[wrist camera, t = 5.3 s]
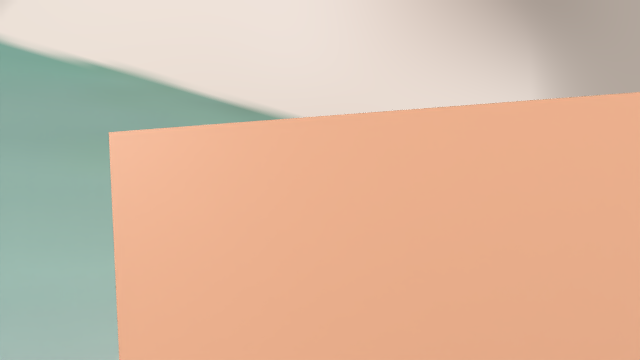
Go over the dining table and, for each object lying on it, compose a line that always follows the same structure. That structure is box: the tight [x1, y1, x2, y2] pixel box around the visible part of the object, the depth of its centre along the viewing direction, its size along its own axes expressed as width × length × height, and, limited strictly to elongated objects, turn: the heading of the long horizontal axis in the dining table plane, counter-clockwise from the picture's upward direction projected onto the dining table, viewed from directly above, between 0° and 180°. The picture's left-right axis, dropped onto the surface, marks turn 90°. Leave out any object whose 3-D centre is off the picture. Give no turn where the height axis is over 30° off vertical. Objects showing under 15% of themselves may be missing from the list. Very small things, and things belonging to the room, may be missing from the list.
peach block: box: [109, 92, 640, 360], centre depth 9 cm, size 5×5×13 cm
